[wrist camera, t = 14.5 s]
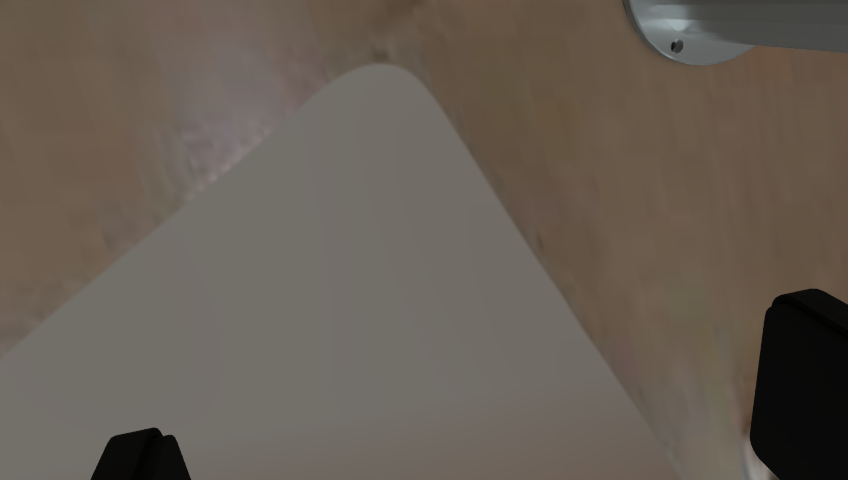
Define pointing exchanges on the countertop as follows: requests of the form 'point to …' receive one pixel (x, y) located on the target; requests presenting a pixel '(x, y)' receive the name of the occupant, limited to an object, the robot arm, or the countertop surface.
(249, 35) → the countertop surface
